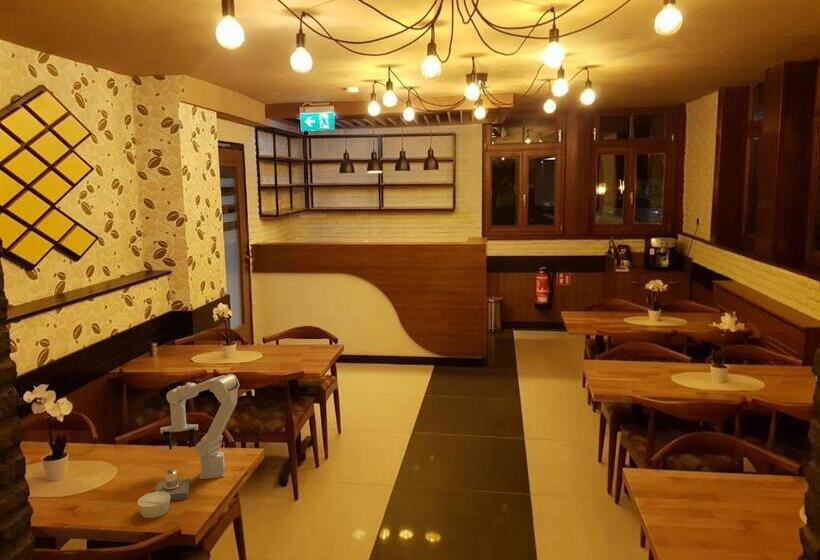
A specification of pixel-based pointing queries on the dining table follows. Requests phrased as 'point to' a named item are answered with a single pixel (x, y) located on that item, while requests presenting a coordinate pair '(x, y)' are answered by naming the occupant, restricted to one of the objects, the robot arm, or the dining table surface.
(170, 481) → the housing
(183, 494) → the stand
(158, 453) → the dining table surface
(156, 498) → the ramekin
